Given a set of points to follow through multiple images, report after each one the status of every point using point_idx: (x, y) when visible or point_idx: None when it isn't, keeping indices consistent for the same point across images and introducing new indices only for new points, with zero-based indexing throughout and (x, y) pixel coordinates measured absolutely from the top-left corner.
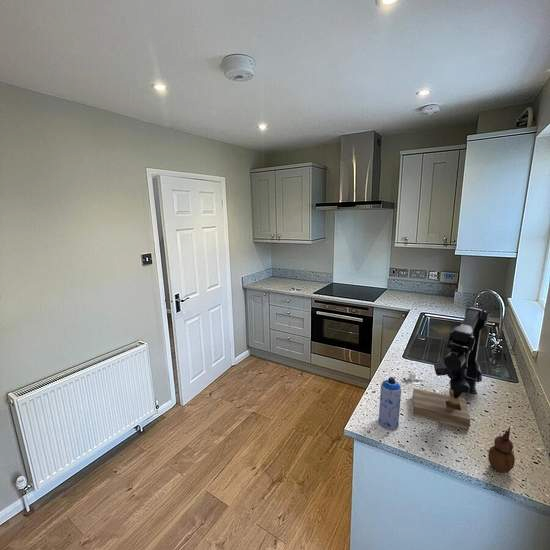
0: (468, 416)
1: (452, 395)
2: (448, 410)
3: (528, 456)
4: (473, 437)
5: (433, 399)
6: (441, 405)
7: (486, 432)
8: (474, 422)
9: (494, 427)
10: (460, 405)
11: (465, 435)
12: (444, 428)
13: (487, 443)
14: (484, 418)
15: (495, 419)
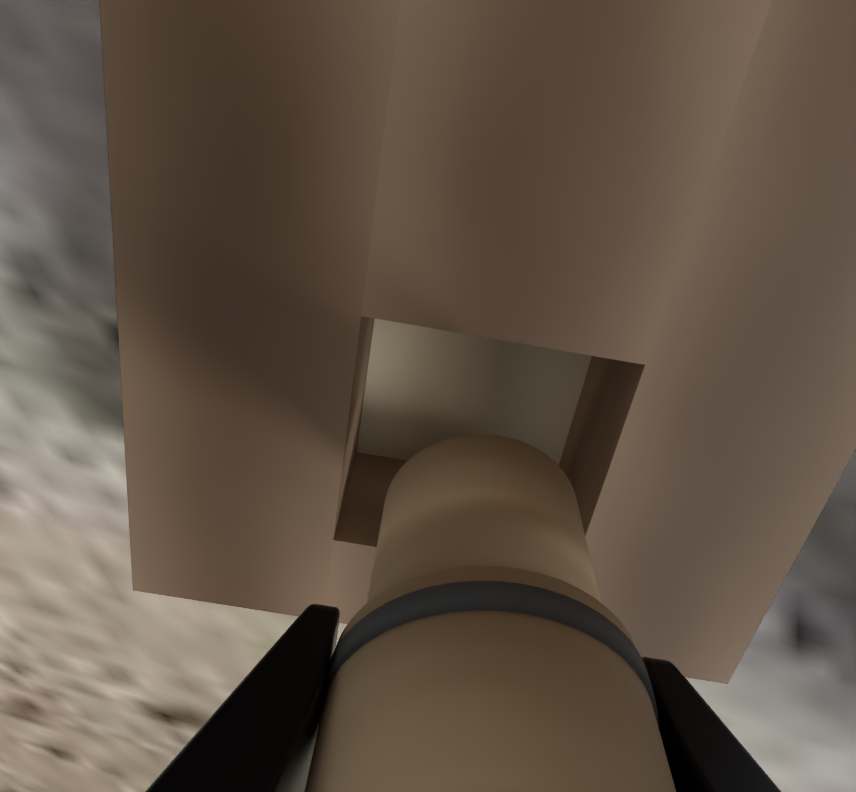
0: (199, 587)
1: (366, 615)
2: (260, 321)
3: (24, 784)
4: (57, 475)
5: (653, 72)
6: (412, 218)
7: (225, 624)
8: None
9: None
10: None
11: (48, 399)
12: (64, 143)
13: (24, 573)
14: None
15: None
